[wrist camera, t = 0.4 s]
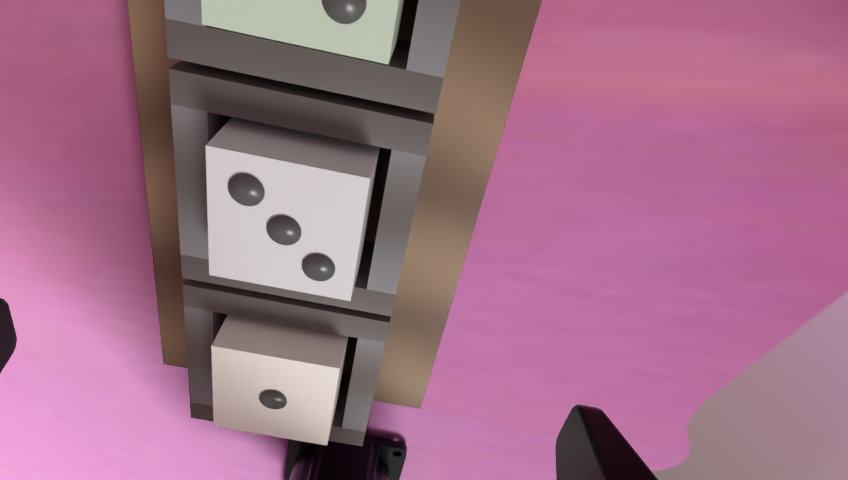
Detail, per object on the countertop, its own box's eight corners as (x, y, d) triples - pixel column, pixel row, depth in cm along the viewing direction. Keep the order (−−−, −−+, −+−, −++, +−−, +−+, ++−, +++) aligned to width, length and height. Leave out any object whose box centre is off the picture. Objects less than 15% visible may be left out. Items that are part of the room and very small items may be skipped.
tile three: (361, 256, 19) (350, 302, 17) (235, 232, 19) (208, 275, 17) (380, 142, 17) (369, 179, 15) (236, 112, 16) (204, 146, 14)
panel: (422, 376, 27) (416, 461, 23) (182, 333, 27) (133, 413, 23) (586, -196, 15) (633, -222, 11) (136, -310, 14) (8, -385, 10)
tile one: (338, 396, 23) (327, 446, 21) (234, 378, 23) (213, 427, 21) (350, 321, 21) (339, 369, 19) (235, 300, 21) (210, 346, 18)
